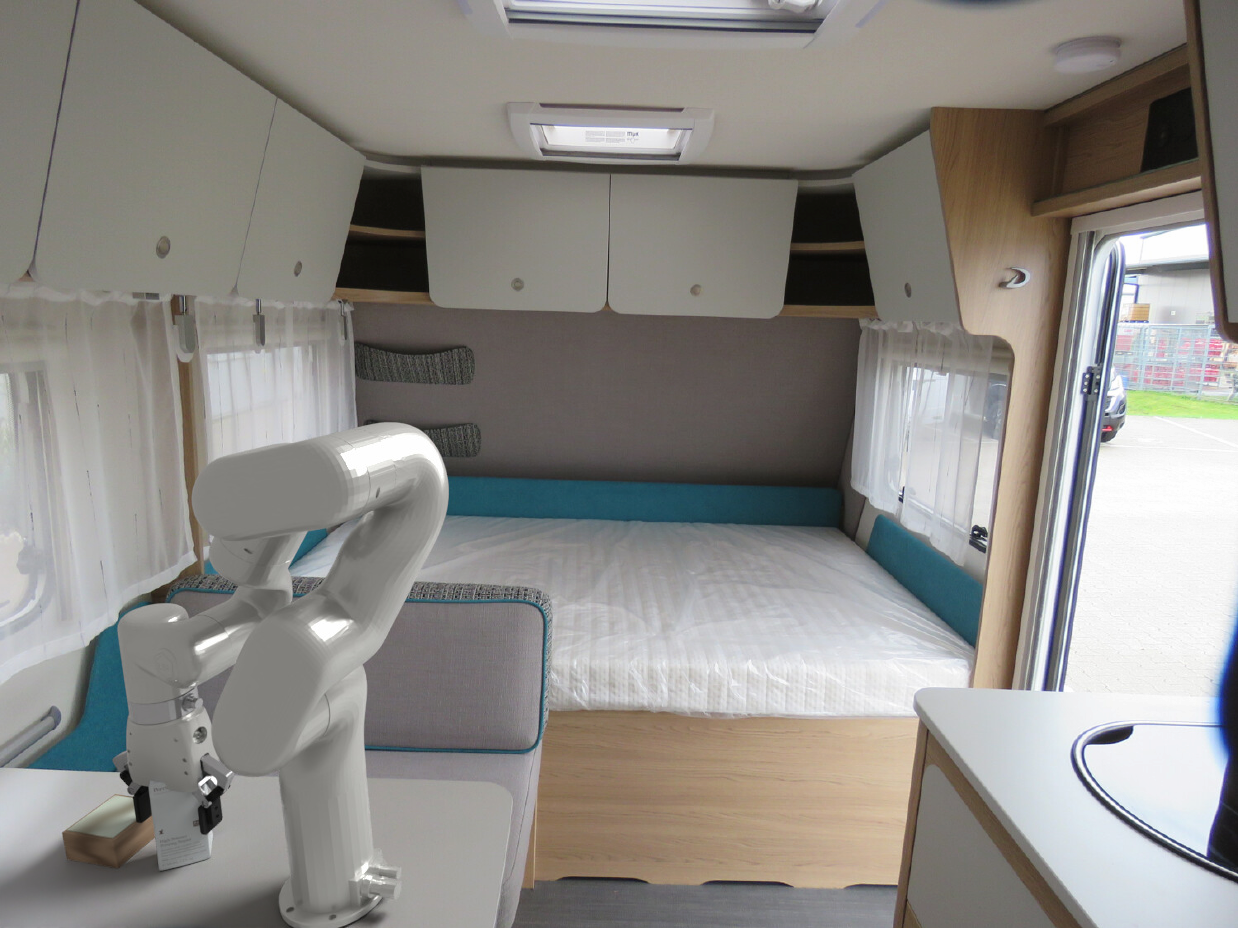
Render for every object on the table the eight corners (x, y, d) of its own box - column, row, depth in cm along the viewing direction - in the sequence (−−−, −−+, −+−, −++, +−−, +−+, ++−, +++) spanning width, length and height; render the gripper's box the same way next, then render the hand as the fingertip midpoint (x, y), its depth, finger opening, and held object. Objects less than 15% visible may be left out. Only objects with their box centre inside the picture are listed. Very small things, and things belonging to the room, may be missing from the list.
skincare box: (158, 873, 95) (144, 788, 92) (163, 850, 99) (150, 768, 96) (213, 857, 97) (201, 774, 95) (215, 836, 101) (204, 756, 99)
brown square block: (167, 826, 103) (163, 800, 102) (118, 868, 96) (113, 839, 95) (119, 819, 105) (115, 792, 104) (67, 859, 97) (61, 831, 96)
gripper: (244, 695, 95) (257, 812, 99) (131, 680, 99) (147, 794, 103) (200, 727, 88) (216, 852, 92) (80, 709, 92) (99, 830, 95)
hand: (179, 821), depth 97 cm, fingers open, 9 cm apart
